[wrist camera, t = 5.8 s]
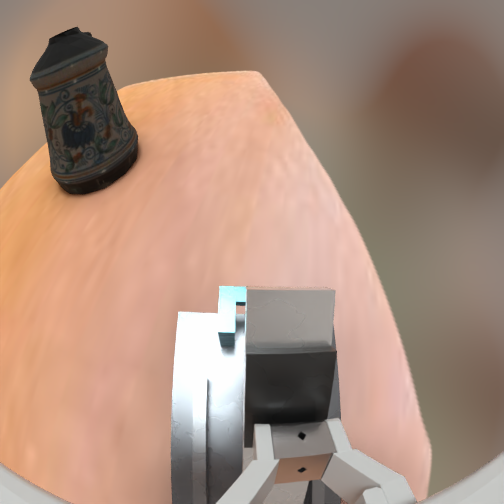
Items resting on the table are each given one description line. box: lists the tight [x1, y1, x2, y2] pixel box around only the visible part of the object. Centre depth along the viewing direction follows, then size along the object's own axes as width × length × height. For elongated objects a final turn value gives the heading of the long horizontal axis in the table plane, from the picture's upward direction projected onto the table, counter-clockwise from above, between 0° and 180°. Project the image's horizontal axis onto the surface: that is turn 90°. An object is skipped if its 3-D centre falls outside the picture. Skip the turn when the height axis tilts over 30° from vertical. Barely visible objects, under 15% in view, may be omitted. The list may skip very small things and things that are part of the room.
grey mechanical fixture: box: [171, 286, 341, 504], centre depth 17 cm, size 14×27×8 cm, turn 0°
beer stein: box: [30, 27, 138, 194], centre depth 31 cm, size 16×19×25 cm
